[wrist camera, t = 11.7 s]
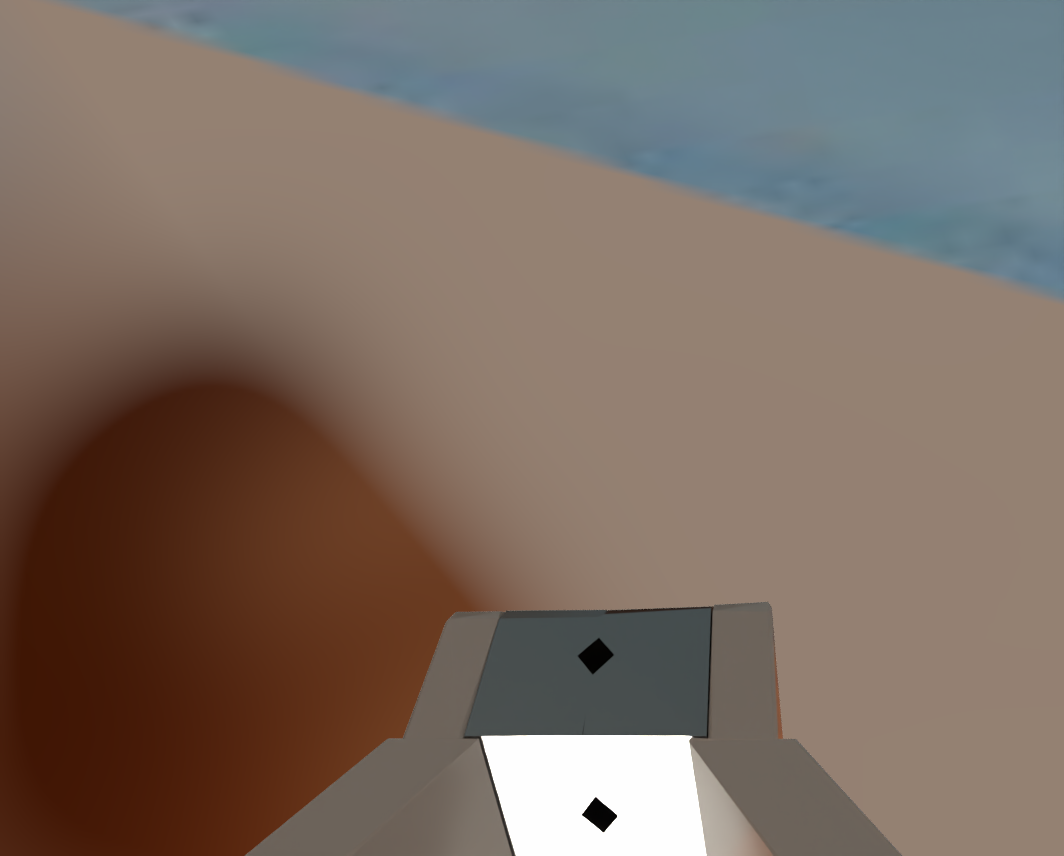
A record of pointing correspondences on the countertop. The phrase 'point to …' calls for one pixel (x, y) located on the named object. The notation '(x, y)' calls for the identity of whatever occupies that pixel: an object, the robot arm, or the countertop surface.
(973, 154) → the countertop surface
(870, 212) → the countertop surface
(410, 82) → the countertop surface
